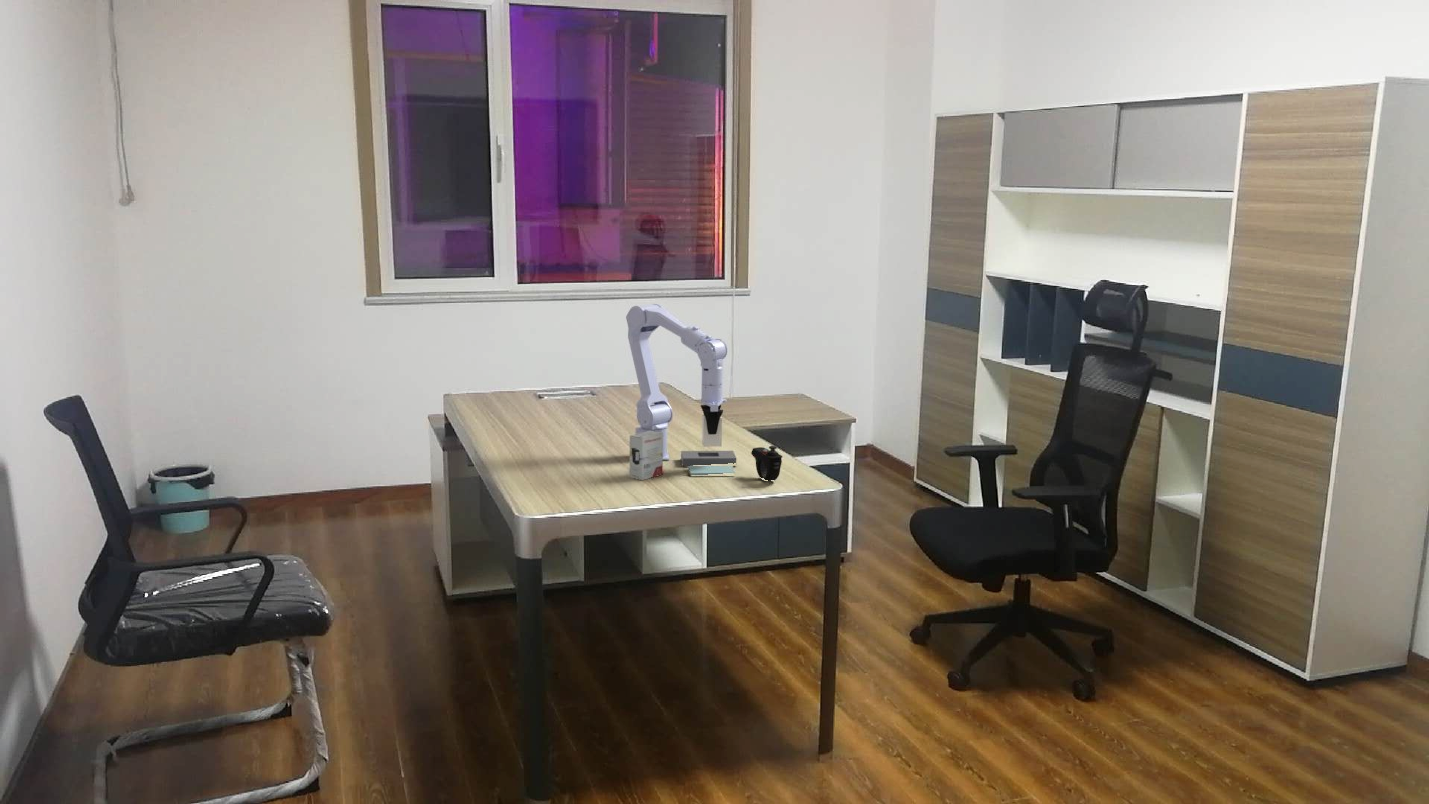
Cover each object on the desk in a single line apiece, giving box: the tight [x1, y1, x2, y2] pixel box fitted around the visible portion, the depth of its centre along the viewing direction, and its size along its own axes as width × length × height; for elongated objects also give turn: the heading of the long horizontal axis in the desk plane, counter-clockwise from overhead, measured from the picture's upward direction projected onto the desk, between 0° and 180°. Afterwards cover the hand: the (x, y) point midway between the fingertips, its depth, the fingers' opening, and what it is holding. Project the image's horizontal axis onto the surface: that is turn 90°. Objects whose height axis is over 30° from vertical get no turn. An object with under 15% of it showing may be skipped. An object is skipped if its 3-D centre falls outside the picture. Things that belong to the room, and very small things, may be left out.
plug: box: [701, 414, 723, 448], centre depth 302 cm, size 5×4×8 cm
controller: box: [750, 445, 783, 482], centre depth 293 cm, size 4×12×10 cm, turn 24°
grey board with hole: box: [680, 450, 737, 467], centre depth 311 cm, size 15×9×2 cm, turn 95°
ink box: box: [629, 431, 664, 481], centre depth 295 cm, size 9×5×12 cm, turn 141°
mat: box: [688, 466, 736, 475], centre depth 300 cm, size 12×8×1 cm, turn 95°
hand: (711, 432), depth 302 cm, fingers closed on plug, 4 cm apart
